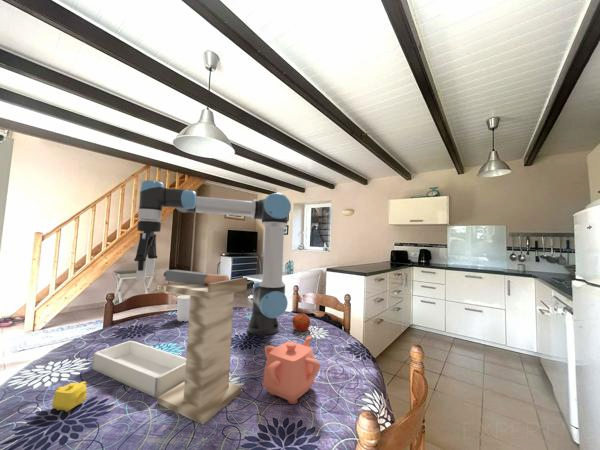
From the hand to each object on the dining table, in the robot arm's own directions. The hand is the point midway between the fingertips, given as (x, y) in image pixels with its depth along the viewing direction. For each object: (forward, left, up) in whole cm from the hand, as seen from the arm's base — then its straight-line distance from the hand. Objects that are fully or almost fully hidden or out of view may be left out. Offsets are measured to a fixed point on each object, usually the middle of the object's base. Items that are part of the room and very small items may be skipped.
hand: (145, 277), depth 90 cm
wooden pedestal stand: (-22, +33, -28) cm, 49 cm away
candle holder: (-12, -39, -28) cm, 50 cm away
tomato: (-67, -8, -28) cm, 73 cm away
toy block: (+8, +27, -28) cm, 40 cm away
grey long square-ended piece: (-19, +29, +2) cm, 35 cm away
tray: (-4, +15, -28) cm, 32 cm away
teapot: (-47, +37, -28) cm, 66 cm away
